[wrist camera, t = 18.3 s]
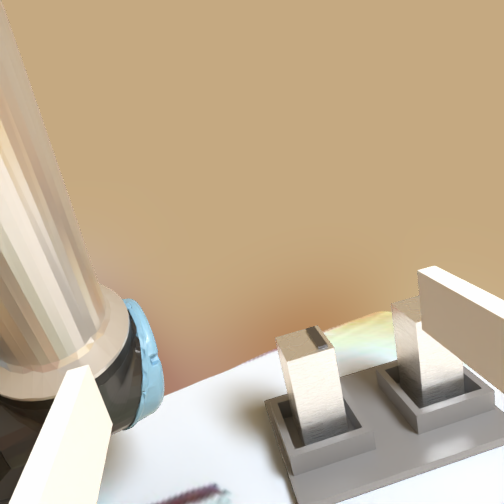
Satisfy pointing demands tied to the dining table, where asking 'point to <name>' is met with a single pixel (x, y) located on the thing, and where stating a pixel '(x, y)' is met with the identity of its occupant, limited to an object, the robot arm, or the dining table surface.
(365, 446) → the pallet
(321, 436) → the billet
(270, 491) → the dining table surface
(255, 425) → the dining table surface
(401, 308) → the billet
